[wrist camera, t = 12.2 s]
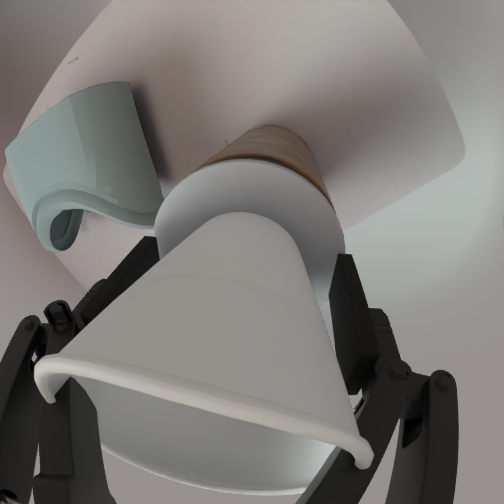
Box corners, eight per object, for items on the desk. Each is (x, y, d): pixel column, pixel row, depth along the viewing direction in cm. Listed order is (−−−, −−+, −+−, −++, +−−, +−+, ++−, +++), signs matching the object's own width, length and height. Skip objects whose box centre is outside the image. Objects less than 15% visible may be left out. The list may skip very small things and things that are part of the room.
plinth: (317, 129, 31) (353, 163, 14) (308, 210, 37) (322, 315, 19) (228, 124, 32) (159, 152, 15) (228, 204, 38) (176, 299, 20)
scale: (353, 163, 14) (363, 173, 12) (322, 315, 19) (324, 337, 18) (159, 152, 15) (142, 160, 13) (176, 299, 20) (166, 318, 19)
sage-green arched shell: (146, 81, 29) (86, 81, 19) (184, 206, 38) (145, 252, 28) (47, 138, 34) (-7, 160, 23) (82, 233, 43) (39, 272, 32)
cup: (206, 334, 19) (160, 481, 9) (131, 210, 14) (-7, 355, 5) (349, 306, 16) (373, 487, 7) (305, 144, 12) (365, 332, 2)
